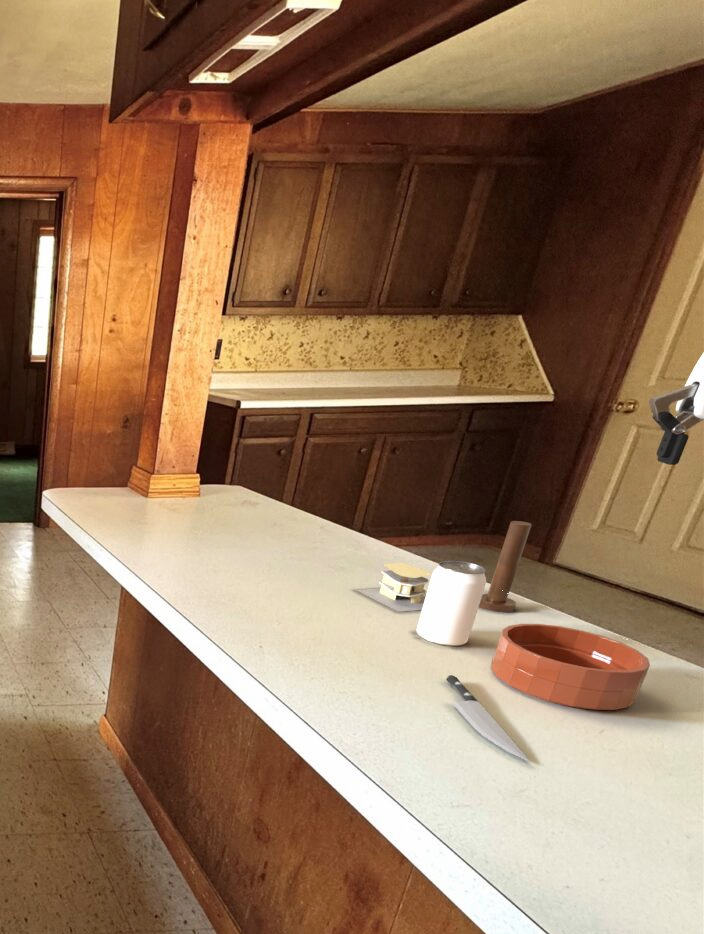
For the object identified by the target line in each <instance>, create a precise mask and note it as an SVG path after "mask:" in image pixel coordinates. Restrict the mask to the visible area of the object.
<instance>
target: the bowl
mask: <svg viewBox="0 0 704 934" xmlns="http://www.w3.org/2000/svg"><path fill="white" fill-rule="evenodd" d="M650 666H651V664H650V661H649V658H648V657H647V656H645V654H643V653H641V651H639V650H637V649H635V648H633V647H632V646H630V645H628V644H625V643H623V642H621V641H618V640H616V639H613V638H610V637H607V636H603V635H601V634H597V633H594V632H589V631H585V630H582V629H577V628H573V627H566V626H561V625H553V624H545V623H518V624H517V623H516V624H512V625H508V626H506V627H504V628H503V629H502V630H501V633H500V635H499V639H498V642H497V645H496V648H495V650H494V654H493V657H492V659H491V663H490V670H491V672H493V674H494V675H495V676H496V677H497V678H498V679H500V680H501V681H503V682H504V683H506V684H507V685H509V686H511V687H512V688H514V689H516V690H518V691H520V692H522V693H524V694H527V695H529V696H532V697H534V698H537V699H541V700H543V701H547V702H550V703H553V704H558V705H561V706H566V707H571V708H577V709H584V710H607V711H608V710H609V711H610V710H611V711H612V710H613V711H615V710H619V709H625V708H630V706H631V705H633V703H635V701H636V699H637V697H638V694H639V692H640V690H641V688H642V685H643V682H644V680H645V678H646V676H647V674H648V671H649V669H650Z"/></svg>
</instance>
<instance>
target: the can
mask: <svg viewBox="0 0 704 934" xmlns="http://www.w3.org/2000/svg"><path fill="white" fill-rule="evenodd" d="M486 572H487V570H486V568H484V567H483V566H481V565H479V564H475V563H471V562H467V561H460V560H441V561H439V562H438V566H437V567H436V568H435V569H434V570H433V572H432V574H431V576H430V581H429V584H428V588H427V591H426V593H425V597H424V598H425V601H424V605H423V608H422V610H421V612H420V615H419V620H418V623H417V627H416V633H417V635H418V636H419V637H420V638H421V639H423V640H425V641H427V642H430V643H433V644H437V645H440V646H447V647H460V646H463V645H465V644H466V643H468V641H469V638H470V636H471V632H472V629H473V626H474V623H475V620H476V616H477V614H478V610H479V604H480V601H481V598H482V595H483V594H484V592H485V588H486V584H487V576H486V574H485V573H486Z"/></svg>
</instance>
